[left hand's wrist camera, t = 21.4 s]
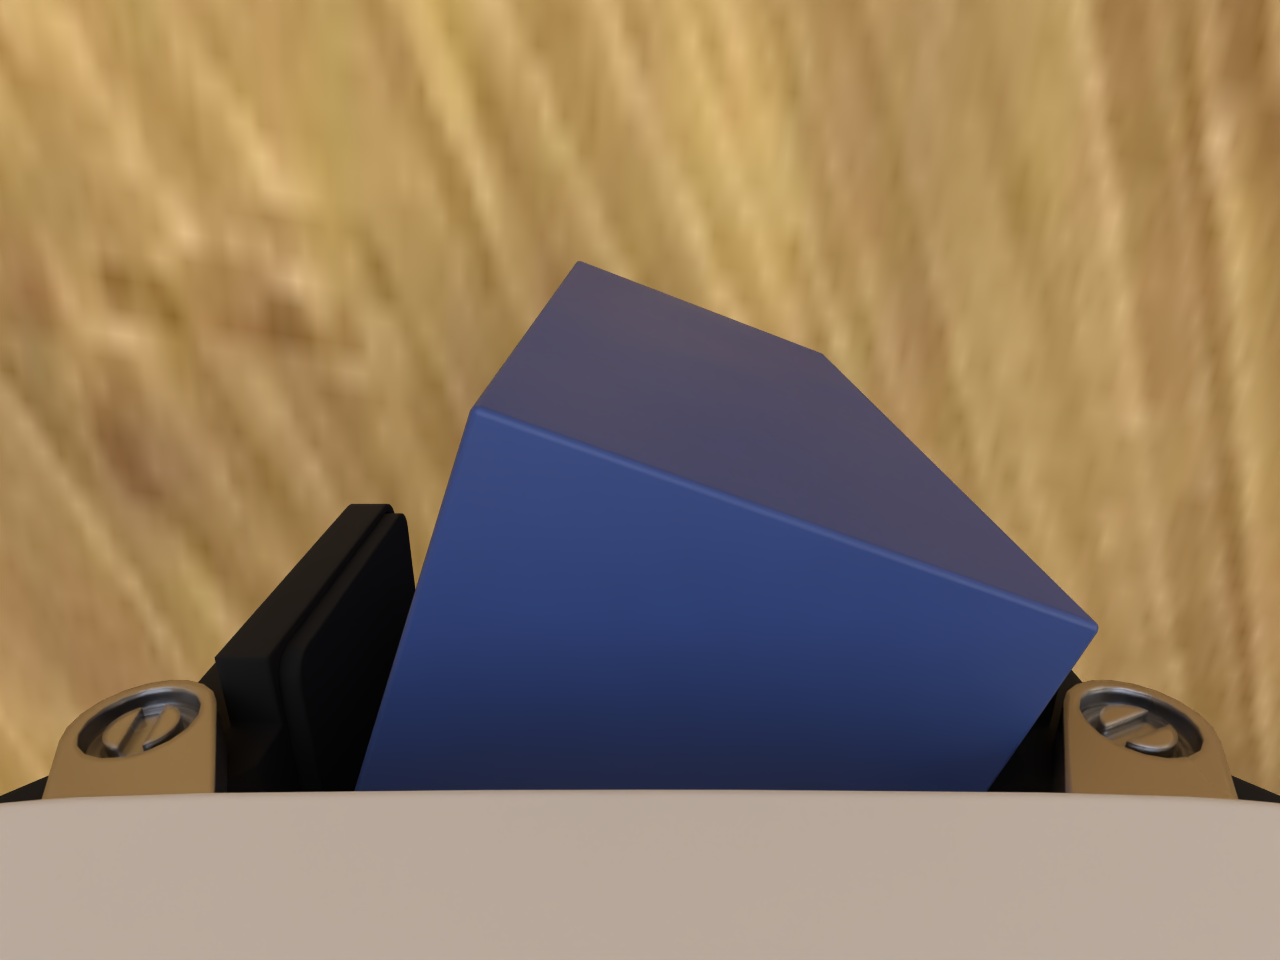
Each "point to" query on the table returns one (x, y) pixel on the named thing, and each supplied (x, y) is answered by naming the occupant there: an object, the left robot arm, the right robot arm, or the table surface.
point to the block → (707, 579)
